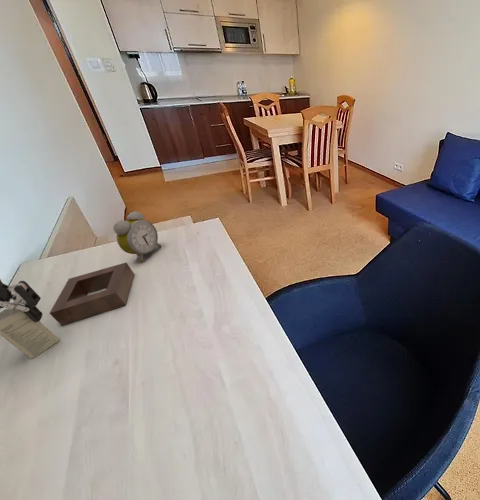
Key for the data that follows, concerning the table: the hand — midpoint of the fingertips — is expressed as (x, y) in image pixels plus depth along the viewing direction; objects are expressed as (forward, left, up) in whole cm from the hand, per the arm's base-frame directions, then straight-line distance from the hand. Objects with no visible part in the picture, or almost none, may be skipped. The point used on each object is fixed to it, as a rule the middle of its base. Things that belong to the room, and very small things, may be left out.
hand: (19, 325), depth 71 cm
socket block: (+10, +14, -8) cm, 19 cm away
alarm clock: (+20, +33, -8) cm, 39 cm away
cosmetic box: (0, 0, -8) cm, 8 cm away
